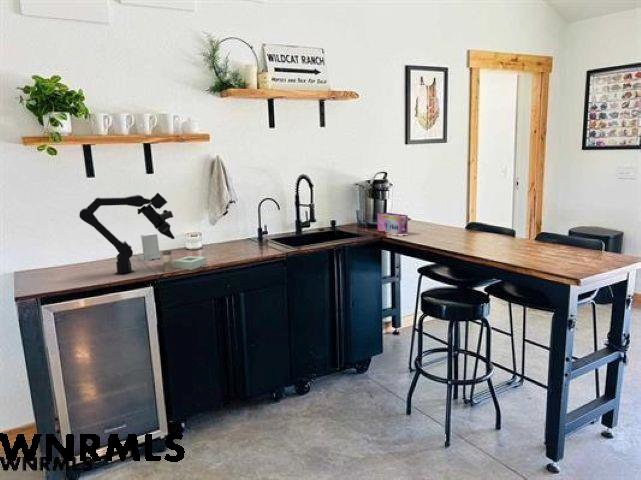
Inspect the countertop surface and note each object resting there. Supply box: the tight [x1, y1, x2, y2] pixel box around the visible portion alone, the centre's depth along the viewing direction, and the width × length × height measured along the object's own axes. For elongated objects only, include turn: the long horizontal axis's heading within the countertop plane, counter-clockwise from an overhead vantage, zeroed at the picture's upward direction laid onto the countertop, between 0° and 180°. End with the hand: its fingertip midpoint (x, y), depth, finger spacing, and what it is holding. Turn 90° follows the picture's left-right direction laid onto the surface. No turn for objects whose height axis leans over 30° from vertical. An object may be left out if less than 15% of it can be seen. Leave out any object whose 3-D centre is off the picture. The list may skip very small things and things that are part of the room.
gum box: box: [377, 212, 409, 234], centre depth 329 cm, size 24×8×14 cm, turn 33°
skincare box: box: [140, 232, 161, 261], centre depth 279 cm, size 8×6×15 cm
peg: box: [161, 250, 174, 273], centre depth 249 cm, size 4×4×10 cm
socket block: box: [172, 255, 208, 271], centre depth 257 cm, size 12×12×4 cm
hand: (172, 237), depth 257 cm, fingers open, 9 cm apart
